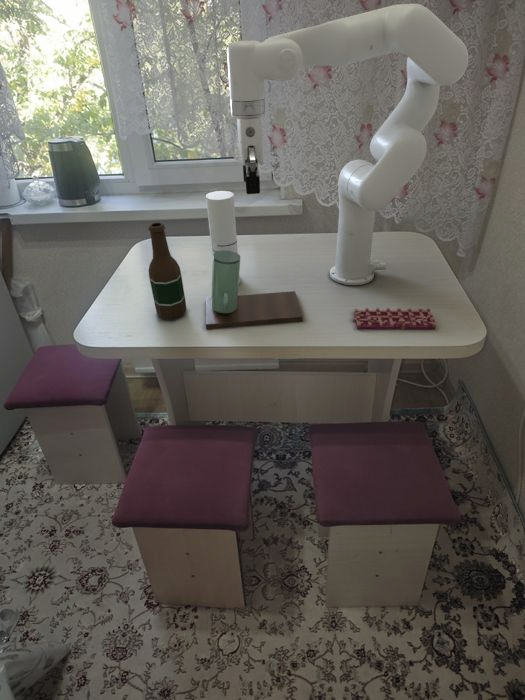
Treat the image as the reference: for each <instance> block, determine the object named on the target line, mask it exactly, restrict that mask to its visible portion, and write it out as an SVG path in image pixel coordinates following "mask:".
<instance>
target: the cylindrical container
mask: <svg viewBox="0 0 525 700" xmlns="http://www.w3.org/2000/svg"><path fill="white" fill-rule="evenodd" d="M234 196H235V195H234V192H232V191H228V190H216V191H211V192H208V193H207V194H206V195H205V202H206V210H207V221H208V230H209V239H210V249H211V258H212V259H213V254H214V253H215V252H218V251H233V252H236V253H238V254H239V252H238V251H239V250H238V240H237V239H238V236H237V235H238V234H237V222H236V210H235V207H236V206H235V197H234ZM240 283H241V280H240V276H239V284H240Z"/></svg>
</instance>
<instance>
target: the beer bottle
mask: <svg viewBox="0 0 525 700" xmlns="http://www.w3.org/2000/svg"><path fill="white" fill-rule="evenodd" d="M165 229H166V227H165V225H164V224H163V223H162V222H153V223H151V224H150V225H149V226H148V231H149V232H150V241H151V249H152V258H151V261H150V263H149V267H148V278H149V283H150V288H151V293H152V297H153V303H154V307H155V312H156V315H157V316H158V317H159V318H160V319H161V320H163V321H176V320H178V319H180V318H183V317H184V316H185V313H186V312H187V302H186V296H185V289H184V283H183V282H184V281H183V277H182V271H181V267H180V265H179V263H178V262H177V260H176V259H175V258H174V257H173V256H172V254H171V252H170V249H169V244H168V240H167V236H166V232H165Z"/></svg>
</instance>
